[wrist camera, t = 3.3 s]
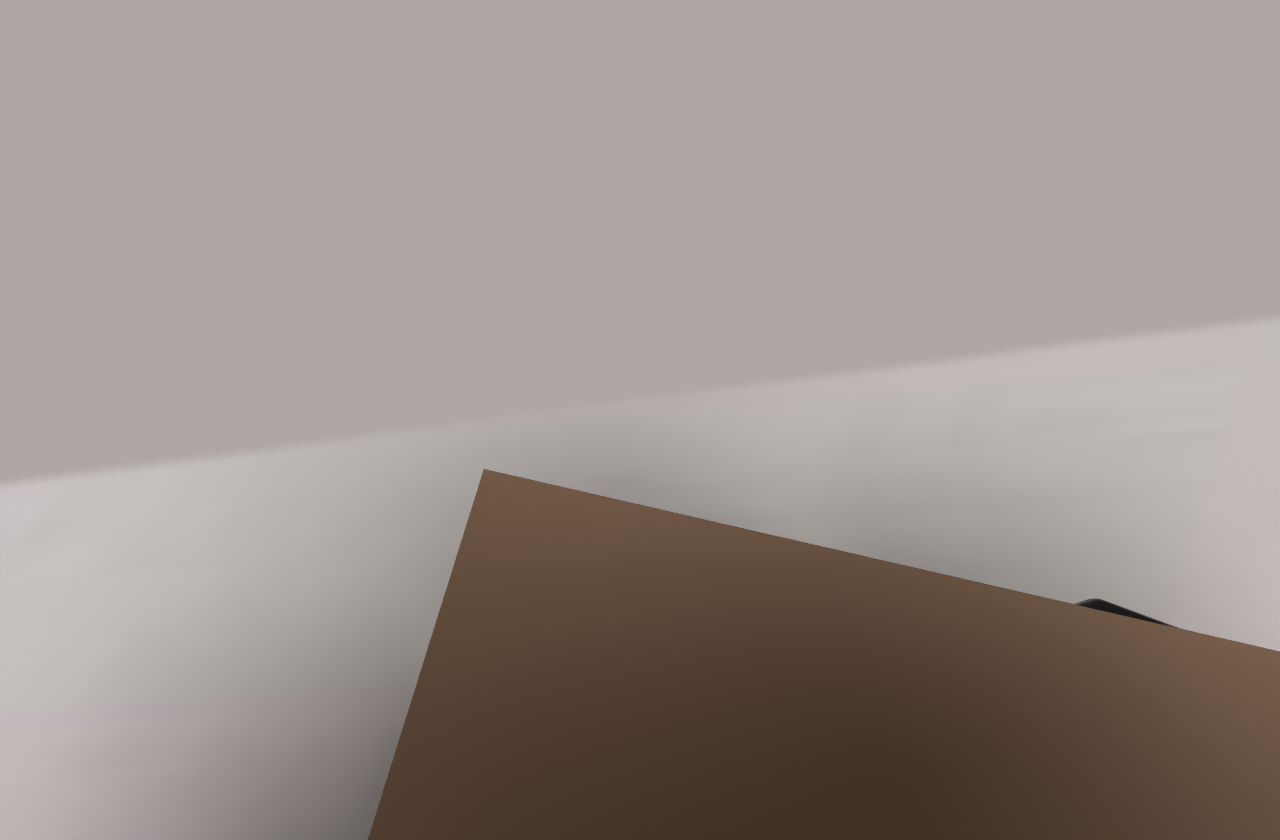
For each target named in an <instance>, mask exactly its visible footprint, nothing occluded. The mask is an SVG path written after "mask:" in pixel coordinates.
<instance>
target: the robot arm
mask: <svg viewBox="0 0 1280 840" xmlns="http://www.w3.org/2000/svg"><path fill="white" fill-rule="evenodd" d="M1074 605H1079V606H1083V607H1087V608H1092V609H1096V610H1100V611H1105V612H1109V613H1114V614H1118V615H1122V616H1127V617H1131V618H1135V619H1140V620H1144V621H1148V622H1153V623H1157V624H1162V625H1166V626H1170V627H1174V626H1171V625H1169V624H1166V623H1163V622H1161V621H1158V620H1155V619H1153V618H1150V617H1147V616H1145V615H1142V614H1139V613H1137V612H1134V611H1131V610H1128V609H1126V608H1123V607H1120V606H1118V605H1115V604H1112V603H1110V602H1107V601H1104V600H1101V599H1088V600H1085V601H1082V602H1079V603H1076V604H1074ZM1175 628H1177V627H1175ZM1179 629H1180V628H1179Z"/></svg>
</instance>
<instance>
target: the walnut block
mask: <svg viewBox="0 0 1280 840" xmlns="http://www.w3.org/2000/svg"><path fill="white" fill-rule="evenodd" d="M368 840H1280V652H1279V651H1275V650H1271V649H1266V648H1262V647H1257V646H1253V645H1249V644H1244V643H1240V642H1236V641H1231V640H1227V639H1223V638H1218V637H1214V636H1209V635H1205V634H1201V633H1196V632H1192V631H1188V630H1183V629H1179V628H1175V627H1170V626H1166V625H1162V624H1157V623H1153V622H1148V621H1144V620H1140V619H1135V618H1131V617H1127V616H1122V615H1118V614H1114V613H1109V612H1105V611H1100V610H1096V609H1092V608H1087V607H1083V606H1079V605H1074V604H1070V603H1066V602H1061V601H1057V600H1053V599H1048V598H1044V597H1039V596H1035V595H1031V594H1026V593H1022V592H1018V591H1013V590H1009V589H1005V588H1000V587H996V586H991V585H987V584H983V583H978V582H974V581H970V580H965V579H961V578H957V577H952V576H948V575H944V574H939V573H935V572H930V571H926V570H922V569H917V568H913V567H909V566H904V565H900V564H896V563H891V562H887V561H882V560H878V559H874V558H869V557H865V556H861V555H856V554H852V553H848V552H843V551H839V550H834V549H830V548H826V547H821V546H817V545H813V544H808V543H804V542H800V541H795V540H791V539H787V538H782V537H778V536H773V535H769V534H765V533H760V532H756V531H752V530H747V529H743V528H739V527H734V526H730V525H725V524H721V523H717V522H712V521H708V520H704V519H699V518H695V517H691V516H686V515H682V514H678V513H673V512H669V511H664V510H660V509H656V508H651V507H647V506H643V505H638V504H634V503H630V502H625V501H621V500H616V499H612V498H608V497H603V496H599V495H595V494H590V493H586V492H582V491H577V490H573V489H569V488H564V487H560V486H555V485H551V484H547V483H542V482H538V481H534V480H529V479H525V478H521V477H516V476H512V475H507V474H503V473H499V472H494V471H490V470H486V469H484V471H483V474H482V477H481V480H480V483H479V487H478V490H477V493H476V496H475V499H474V503H473V506H472V509H471V512H470V515H469V519H468V522H467V525H466V528H465V531H464V535H463V538H462V541H461V544H460V547H459V551H458V554H457V557H456V560H455V563H454V567H453V570H452V573H451V576H450V579H449V583H448V586H447V589H446V592H445V595H444V599H443V602H442V605H441V608H440V611H439V615H438V618H437V621H436V624H435V627H434V631H433V634H432V637H431V640H430V643H429V647H428V650H427V653H426V656H425V659H424V663H423V666H422V669H421V672H420V675H419V679H418V682H417V685H416V688H415V691H414V695H413V698H412V701H411V704H410V707H409V711H408V714H407V717H406V720H405V723H404V727H403V730H402V733H401V736H400V739H399V743H398V746H397V749H396V752H395V755H394V759H393V762H392V765H391V768H390V771H389V775H388V778H387V781H386V784H385V787H384V791H383V794H382V797H381V800H380V803H379V807H378V810H377V813H376V816H375V819H374V823H373V826H372V829H371V832H370V835H369V839H368Z"/></svg>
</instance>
